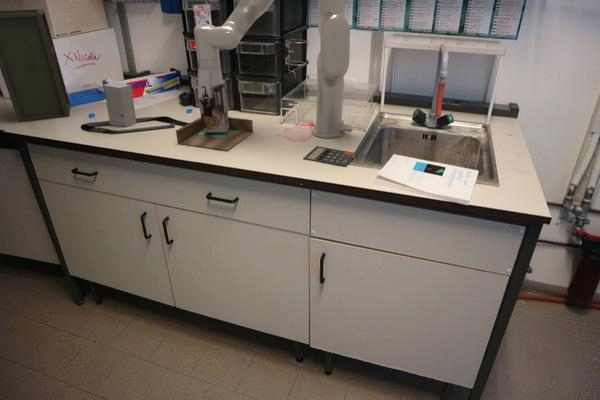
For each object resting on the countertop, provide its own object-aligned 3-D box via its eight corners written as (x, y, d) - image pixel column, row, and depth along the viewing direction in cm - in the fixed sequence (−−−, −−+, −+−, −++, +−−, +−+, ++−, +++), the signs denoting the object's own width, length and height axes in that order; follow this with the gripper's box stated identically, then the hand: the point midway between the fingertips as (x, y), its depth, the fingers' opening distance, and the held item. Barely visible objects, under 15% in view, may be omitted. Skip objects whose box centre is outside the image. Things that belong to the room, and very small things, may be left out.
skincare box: (109, 125, 164) (100, 85, 156) (122, 119, 170) (114, 81, 162) (126, 127, 161) (117, 87, 153) (139, 122, 167) (131, 83, 159)
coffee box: (229, 126, 156) (225, 84, 148) (226, 132, 151) (222, 88, 143) (206, 126, 157) (200, 84, 149) (202, 132, 151) (196, 88, 143)
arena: (253, 132, 157) (252, 120, 154) (227, 151, 140) (226, 137, 138) (207, 126, 163) (206, 114, 160) (177, 143, 146) (175, 130, 144)
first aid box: (23, 110, 181) (-10, 10, 161) (70, 105, 188) (43, 9, 168) (18, 122, 166) (-19, 14, 147) (69, 116, 173) (40, 13, 154)
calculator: (346, 165, 129) (302, 157, 135) (345, 168, 130) (302, 160, 135) (357, 152, 139) (316, 145, 144) (357, 155, 139) (316, 148, 145)
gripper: (212, 58, 150) (217, 105, 159) (185, 67, 136) (192, 119, 145) (231, 59, 148) (234, 107, 157) (205, 69, 134) (211, 121, 142)
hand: (214, 112), depth 151 cm, fingers closed on coffee box, 7 cm apart
